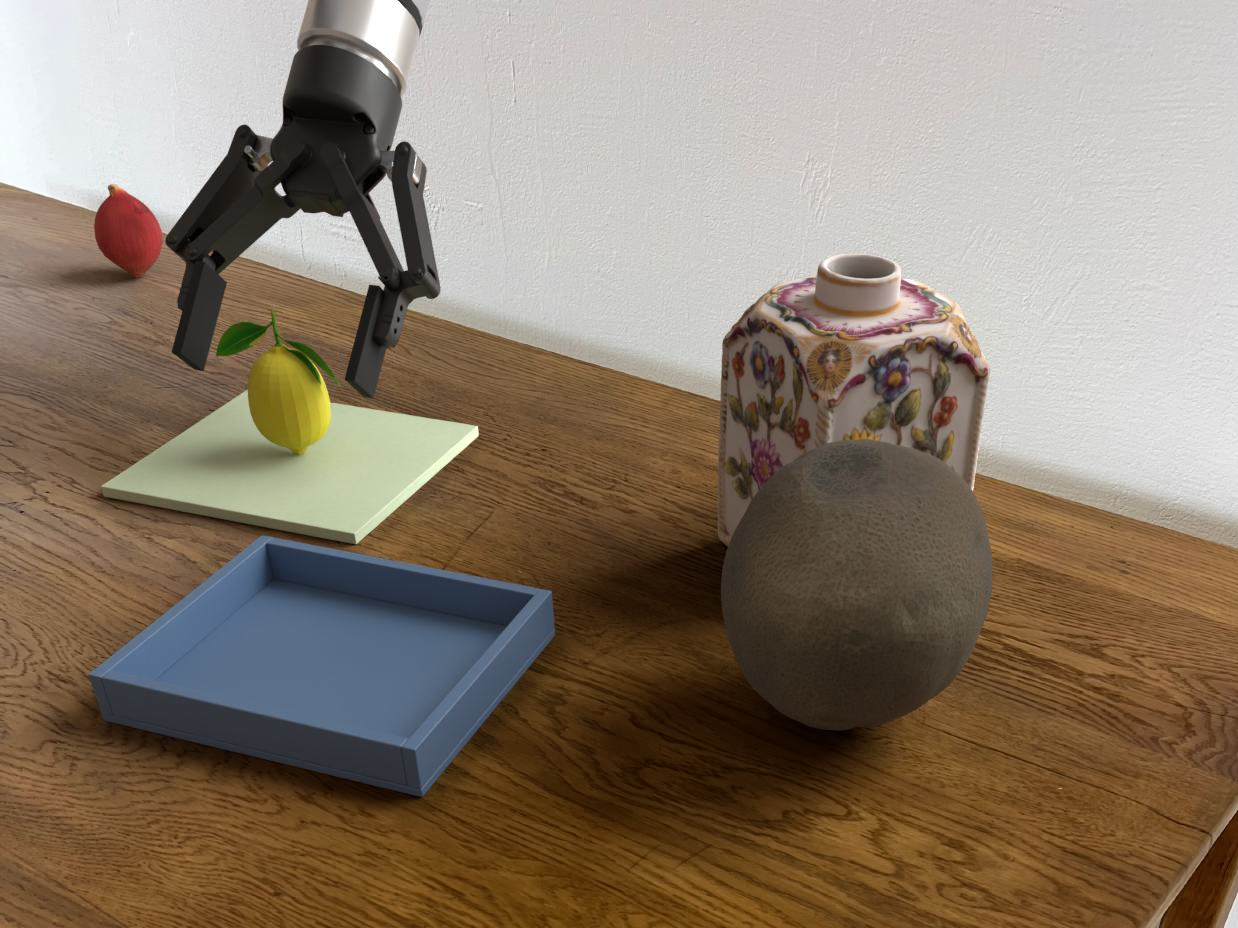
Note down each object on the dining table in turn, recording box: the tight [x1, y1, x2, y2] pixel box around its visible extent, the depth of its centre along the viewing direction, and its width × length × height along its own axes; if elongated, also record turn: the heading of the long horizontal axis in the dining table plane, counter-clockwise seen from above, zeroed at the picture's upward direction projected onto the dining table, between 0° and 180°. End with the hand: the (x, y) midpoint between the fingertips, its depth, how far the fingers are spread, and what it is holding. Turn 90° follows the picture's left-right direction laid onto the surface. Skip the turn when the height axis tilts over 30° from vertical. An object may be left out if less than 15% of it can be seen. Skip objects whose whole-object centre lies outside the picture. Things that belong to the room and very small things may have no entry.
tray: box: [88, 534, 556, 798], centre depth 76 cm, size 20×17×3 cm
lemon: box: [215, 309, 341, 455], centre depth 94 cm, size 7×6×10 cm
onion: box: [93, 183, 164, 278], centre depth 125 cm, size 6×6×8 cm
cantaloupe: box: [720, 439, 994, 732], centre depth 69 cm, size 14×14×15 cm
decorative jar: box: [717, 253, 991, 547], centre depth 81 cm, size 12×12×18 cm
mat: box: [100, 389, 480, 545], centre depth 97 cm, size 20×18×1 cm
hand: (271, 376), depth 92 cm, fingers open, 13 cm apart
